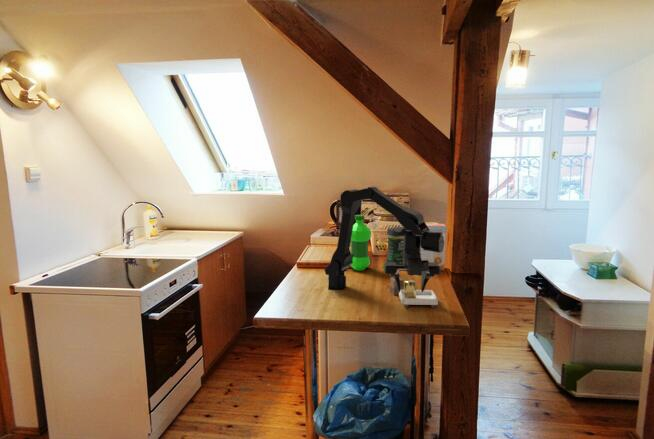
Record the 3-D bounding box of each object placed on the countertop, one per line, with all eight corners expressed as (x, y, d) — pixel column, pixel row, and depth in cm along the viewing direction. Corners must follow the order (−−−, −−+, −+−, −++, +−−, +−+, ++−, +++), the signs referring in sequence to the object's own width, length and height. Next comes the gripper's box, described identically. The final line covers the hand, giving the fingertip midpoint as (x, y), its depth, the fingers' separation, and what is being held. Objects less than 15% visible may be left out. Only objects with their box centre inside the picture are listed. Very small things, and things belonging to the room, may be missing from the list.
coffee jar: (394, 269, 180) (395, 229, 177) (383, 265, 187) (384, 226, 183) (410, 266, 184) (411, 227, 181) (399, 262, 191) (400, 224, 188)
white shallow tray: (402, 307, 134) (402, 298, 133) (398, 298, 143) (398, 289, 142) (437, 308, 133) (438, 299, 133) (431, 298, 142) (432, 290, 142)
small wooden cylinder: (403, 296, 140) (403, 279, 139) (414, 295, 140) (414, 279, 139) (405, 299, 136) (404, 283, 135) (417, 299, 136) (416, 282, 135)
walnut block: (393, 296, 146) (394, 280, 145) (389, 292, 150) (390, 277, 149) (403, 295, 147) (404, 280, 146) (399, 291, 151) (399, 276, 150)
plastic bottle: (348, 265, 186) (348, 213, 182) (370, 266, 185) (371, 213, 181) (347, 271, 176) (347, 217, 172) (370, 272, 175) (371, 217, 171)
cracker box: (443, 267, 182) (445, 223, 179) (444, 271, 177) (446, 225, 173) (412, 265, 185) (414, 222, 182) (412, 269, 180) (414, 224, 176)
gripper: (387, 254, 127) (386, 299, 130) (445, 254, 127) (443, 300, 129) (384, 246, 138) (383, 288, 141) (437, 246, 138) (435, 288, 140)
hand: (410, 291), depth 138 cm, fingers open, 8 cm apart
